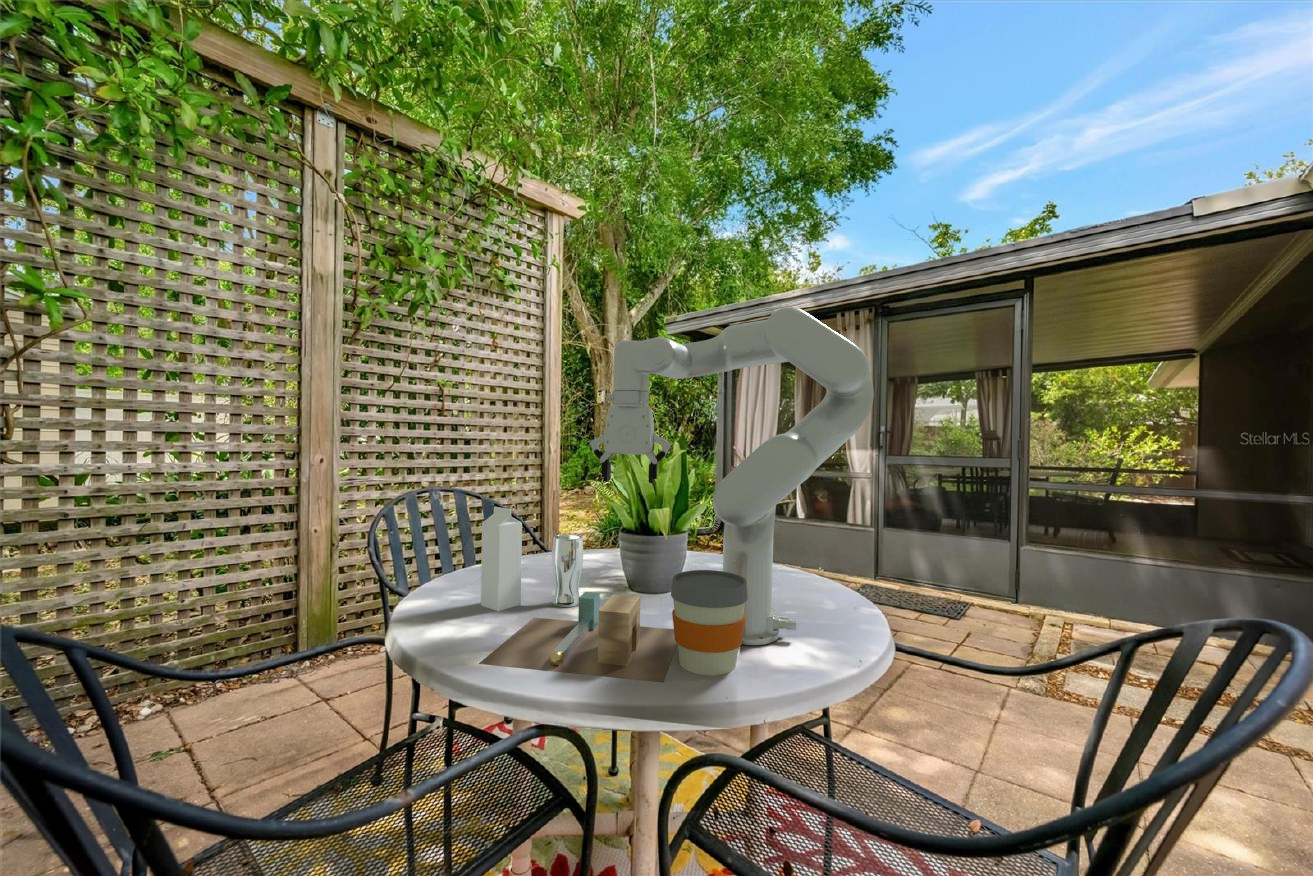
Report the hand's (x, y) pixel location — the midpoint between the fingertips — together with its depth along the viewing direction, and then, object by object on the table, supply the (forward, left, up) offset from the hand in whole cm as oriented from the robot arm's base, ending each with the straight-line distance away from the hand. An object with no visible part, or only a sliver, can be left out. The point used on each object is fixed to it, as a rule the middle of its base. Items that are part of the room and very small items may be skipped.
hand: (629, 481), depth 116 cm
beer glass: (+15, -5, -28) cm, 33 cm away
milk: (+27, +3, -28) cm, 39 cm away
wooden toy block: (-4, +23, -27) cm, 35 cm away
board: (+2, +20, -28) cm, 35 cm away
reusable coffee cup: (-19, +23, -28) cm, 41 cm away
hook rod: (+5, +20, -27) cm, 34 cm away
